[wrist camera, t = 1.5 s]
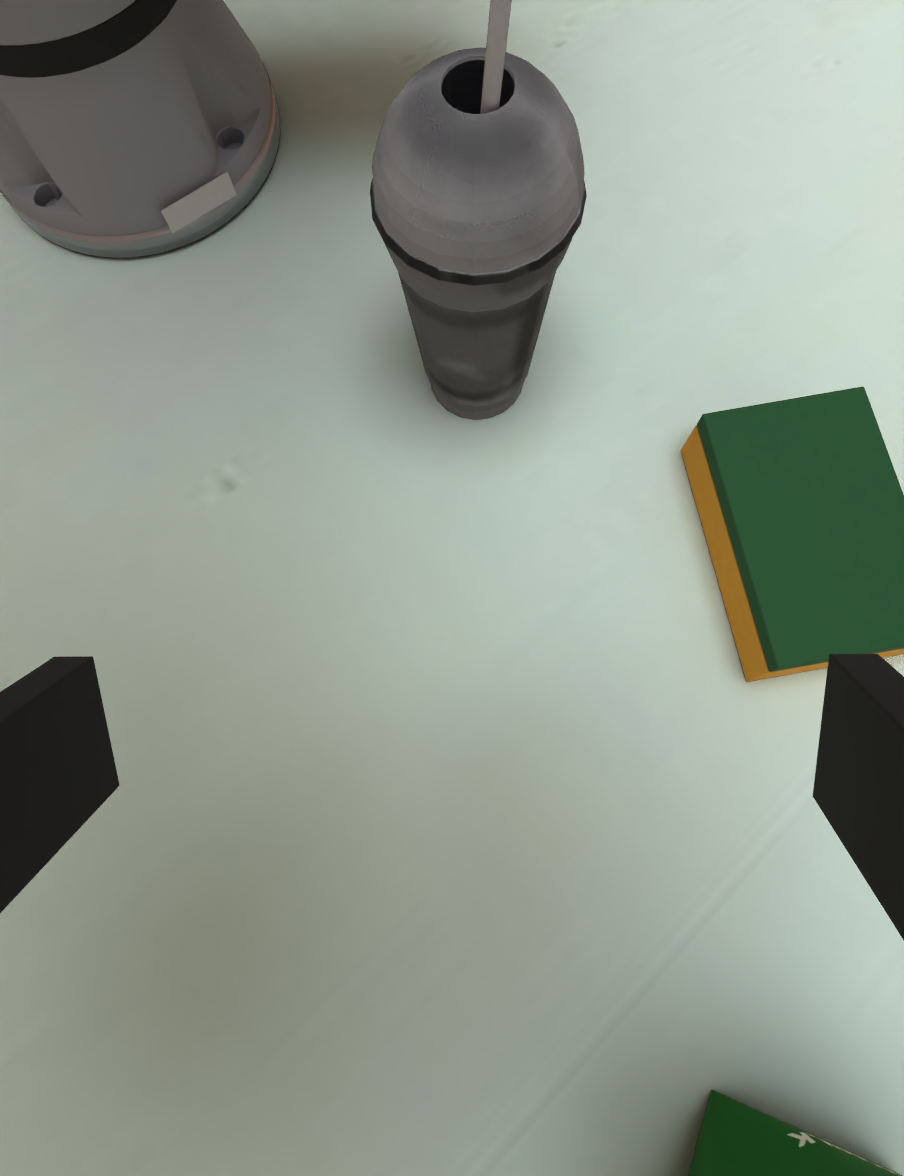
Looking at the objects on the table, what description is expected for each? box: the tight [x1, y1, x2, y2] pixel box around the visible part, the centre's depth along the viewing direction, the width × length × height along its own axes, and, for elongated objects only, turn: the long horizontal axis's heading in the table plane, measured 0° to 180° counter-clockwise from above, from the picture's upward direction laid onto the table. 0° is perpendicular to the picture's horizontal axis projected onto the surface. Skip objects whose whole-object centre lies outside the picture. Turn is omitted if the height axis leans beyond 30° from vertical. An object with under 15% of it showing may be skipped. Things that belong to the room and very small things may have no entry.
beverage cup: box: [370, 0, 586, 419], centre depth 27 cm, size 7×7×20 cm
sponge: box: [681, 387, 904, 682], centre depth 32 cm, size 11×7×4 cm, turn 10°
